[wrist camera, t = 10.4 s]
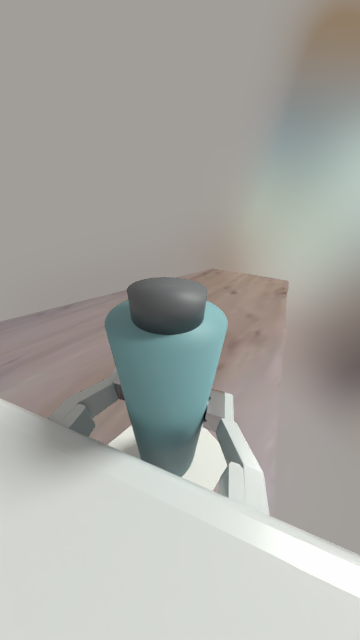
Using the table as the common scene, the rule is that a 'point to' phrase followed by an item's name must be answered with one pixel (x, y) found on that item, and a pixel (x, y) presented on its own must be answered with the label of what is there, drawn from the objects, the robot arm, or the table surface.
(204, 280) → the table surface
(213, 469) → the coaster
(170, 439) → the bottle
